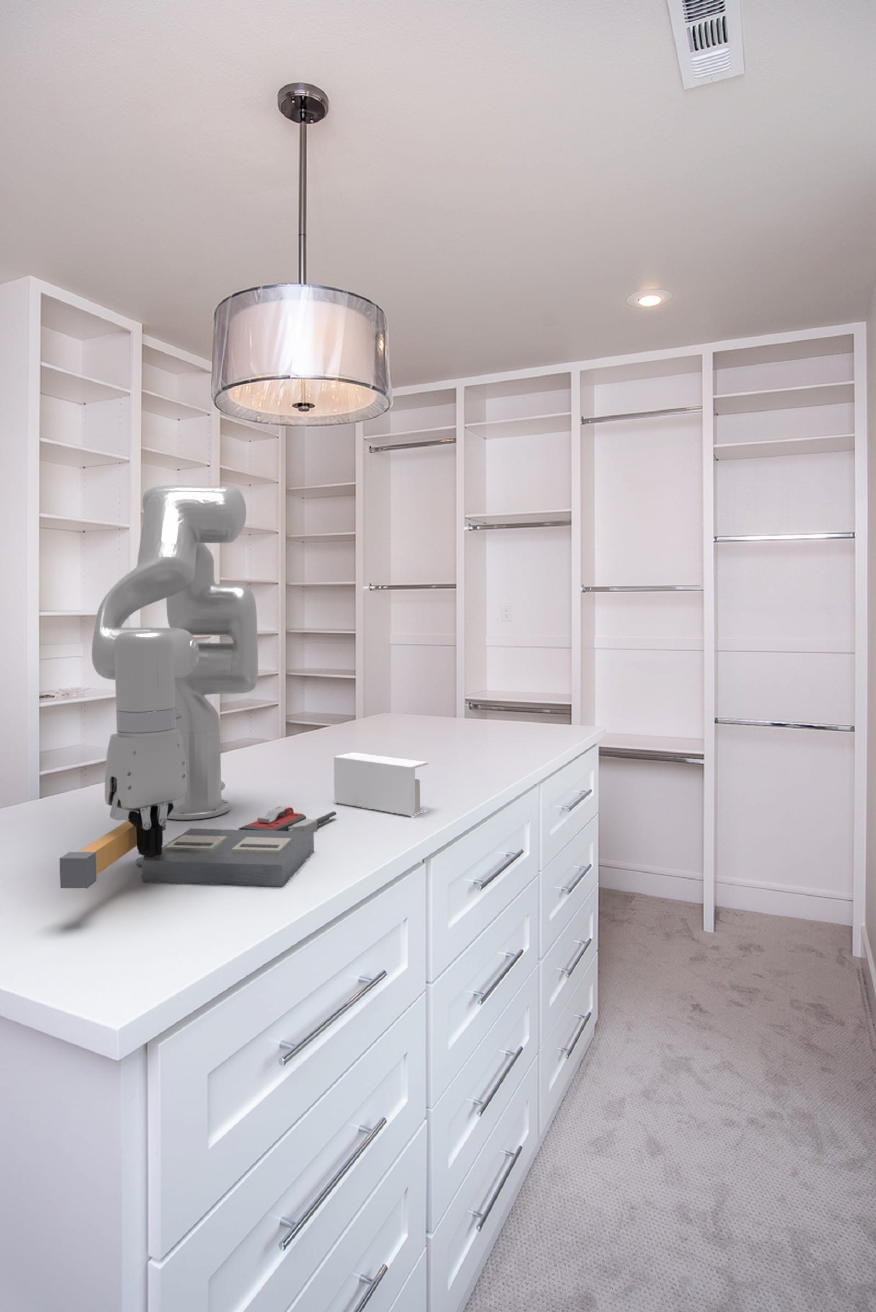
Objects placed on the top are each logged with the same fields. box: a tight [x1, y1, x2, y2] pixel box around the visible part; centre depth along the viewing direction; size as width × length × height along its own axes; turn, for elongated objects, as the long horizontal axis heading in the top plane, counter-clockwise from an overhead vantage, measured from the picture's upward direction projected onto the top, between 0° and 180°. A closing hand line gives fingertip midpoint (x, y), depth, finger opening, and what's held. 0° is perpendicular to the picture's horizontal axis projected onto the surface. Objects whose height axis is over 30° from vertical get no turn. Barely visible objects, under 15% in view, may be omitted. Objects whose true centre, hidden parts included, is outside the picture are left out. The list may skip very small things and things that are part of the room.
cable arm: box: [59, 820, 167, 889], centre depth 104 cm, size 26×4×4 cm, turn 179°
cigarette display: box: [333, 751, 429, 817], centre depth 148 cm, size 20×6×9 cm, turn 56°
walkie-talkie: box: [238, 806, 337, 833], centre depth 132 cm, size 9×4×20 cm
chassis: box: [141, 827, 315, 888], centre depth 114 cm, size 16×20×4 cm
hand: (150, 854), depth 106 cm, fingers closed
